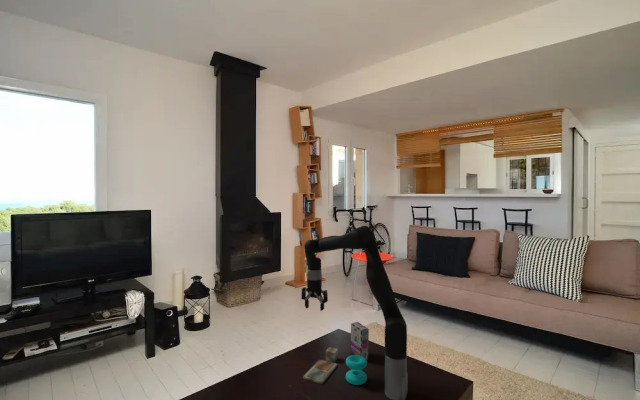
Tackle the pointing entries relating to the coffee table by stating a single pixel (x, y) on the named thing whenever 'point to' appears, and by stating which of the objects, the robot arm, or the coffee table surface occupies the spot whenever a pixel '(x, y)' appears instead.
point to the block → (331, 354)
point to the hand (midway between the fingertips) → (314, 309)
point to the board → (320, 371)
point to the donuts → (356, 369)
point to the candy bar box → (359, 340)
